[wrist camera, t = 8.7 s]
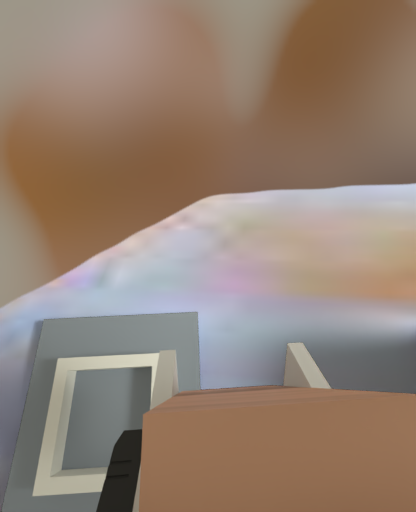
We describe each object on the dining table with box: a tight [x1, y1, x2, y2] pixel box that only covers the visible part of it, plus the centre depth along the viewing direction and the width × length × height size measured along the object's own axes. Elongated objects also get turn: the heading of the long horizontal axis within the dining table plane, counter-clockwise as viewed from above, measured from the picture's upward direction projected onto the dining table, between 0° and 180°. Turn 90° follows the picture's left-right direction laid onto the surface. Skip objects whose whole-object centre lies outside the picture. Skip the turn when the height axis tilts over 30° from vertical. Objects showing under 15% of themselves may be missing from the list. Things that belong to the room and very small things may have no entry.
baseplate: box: [1, 312, 200, 512], centre depth 26 cm, size 20×18×3 cm
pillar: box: [139, 385, 416, 512], centre depth 9 cm, size 6×6×12 cm
